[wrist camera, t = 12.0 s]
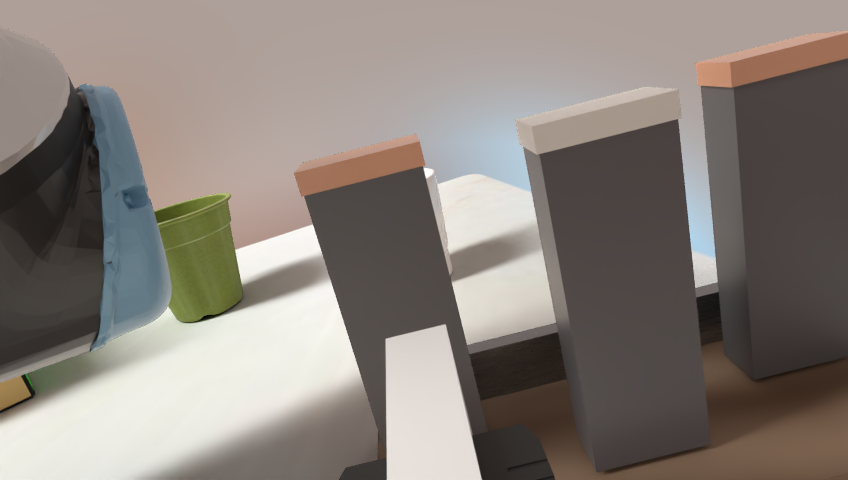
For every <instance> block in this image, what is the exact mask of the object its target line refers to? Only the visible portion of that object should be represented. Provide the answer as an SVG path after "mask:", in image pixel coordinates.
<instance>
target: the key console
mask: <svg viewBox="0 0 848 480" xmlns="http://www.w3.org/2000/svg"><path fill="white" fill-rule="evenodd" d="M695 292H696V302H697V312H698V322H699V331H700V341H701V351H702V361H703V371H704V381H705V391H706V401H707V411H708V421H709V430H710V440H711V444H710V445H706V446H702V447H698V448H694V449H690V450H686V451H682V452H677V453H673V454H669V455H665V456H661V457H657V458H653V459H649V460H645V461H641V462H637V463H633V464H629V465H625V466H621V467H617V468H613V469H609V470H605V471H601V472H596V471H595V469H594V467H593V465H592V463H591V461H590V459H589V457H588V455H587V453H586V451H585V449H584V447H583V446H582V444H581V442H580V440H579V438H578V436H577V431H576V425H575V420H574V415H573V409H572V404H571V399H570V393H569V388H568V383H567V377H566V372H565V367H564V361H563V356H562V351H561V345H560V340H559V335H558V329H557V324H556V323H554V324H550V325H546V326H542V327H538V328H534V329H530V330H526V331H522V332H518V333H514V334H510V335H506V336H502V337H498V338H494V339H490V340H486V341H482V342H478V343H474V344H470V345H467V348H468V352H469V356H470V360H471V364H472V368H473V372H474V376H475V380H476V384H477V389H478V393H479V397H480V401H481V405H482V409H483V413H484V417H485V421H486V425H487V429H488V431H493V430H497V429H501V428H505V427H509V426H513V425H517V424H523V425H524V426H525V427H526V428H528V429H529V430H530V431H531V432H532V433H533V434H535V435H536V436H537V437H538V438H539V439H540V442H541V444H542V447H543V449H544V452H545V454H546V457H547V459H548V463H549V464H550V466H551V469H552V471H553V474H554V477H555V480H848V357H844V358H840V359H836V360H832V361H828V362H824V363H820V364H816V365H812V366H808V367H804V368H800V369H796V370H792V371H788V372H784V373H780V374H776V375H772V376H768V377H764V378H760V379H756V380H753V379H752V378H751V377H750V376H749V375H748V374H746V373H745V372H744V371H743V370H742V369H741V368H739V367H738V366H737V365H736V364H735V363H734V362H732V361H731V360H730V359H729V358H728V357H727V356H725V355H724V346H723V335H722V323H721V312H720V300H719V289H718V283H714V284H710V285H706V286H702V287H698V288H695ZM384 458H387V456H386V453H385V450H384V447H383V444H382V440H381V437H380V434H379V431H378V460H380V459H384Z"/></svg>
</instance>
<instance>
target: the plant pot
mask: <svg viewBox="0 0 848 480" xmlns="http://www.w3.org/2000/svg"><path fill="white" fill-rule="evenodd" d="M230 197H231V194H230V193H219V194H213V195H209V196H204V197H199V198H195V199H192V200H188V201H184V202H181V203H177V204H174V205H170V206H167V207H164V208H161V209H158V210H155V211H154V213H155V217H156V220H157V224H158V228H159V231H160V235H161V239H162V243H163V247H164V251H165V255H166V259H167V263H168V268H169V273H170V279H171V284H172V295H171V300H170V302H169V305H168V306H169V308H170V309H171V311H172V312H173V314H174V315H175V317H176V318H177V320H179V321H182V322H194V321H198V320H200V319H201V318H202V317H203V316H206V315H216V314H220V313H222V312H224V311H226V310H227V309H228V308H230V307H231V306H233V305H235V304H237V303H238V302H239V301H240V299H241V298H242V294H243V289H242V284H241V279H240V274H239V269H238V264H237V258H236V253H235V248H234V243H233V238H232V233H231V227H230V221H231V217H230V211H229V206H228V200H229V199H230Z"/></svg>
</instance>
